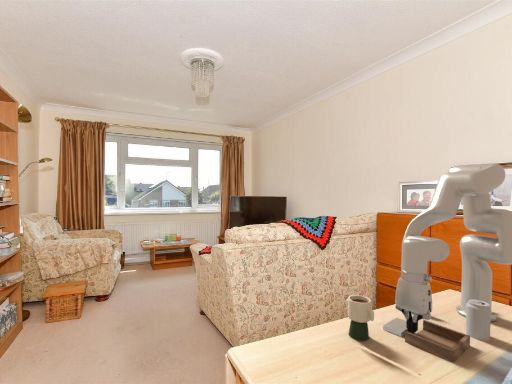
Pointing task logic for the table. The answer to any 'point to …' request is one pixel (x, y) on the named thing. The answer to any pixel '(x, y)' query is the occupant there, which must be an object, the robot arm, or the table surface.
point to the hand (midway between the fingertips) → (411, 331)
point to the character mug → (359, 316)
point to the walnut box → (439, 341)
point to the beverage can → (478, 319)
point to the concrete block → (396, 327)
